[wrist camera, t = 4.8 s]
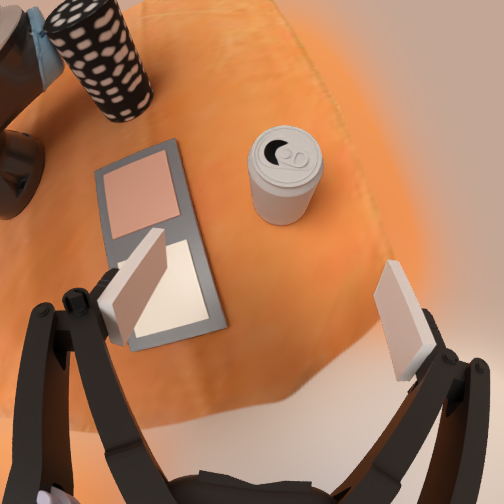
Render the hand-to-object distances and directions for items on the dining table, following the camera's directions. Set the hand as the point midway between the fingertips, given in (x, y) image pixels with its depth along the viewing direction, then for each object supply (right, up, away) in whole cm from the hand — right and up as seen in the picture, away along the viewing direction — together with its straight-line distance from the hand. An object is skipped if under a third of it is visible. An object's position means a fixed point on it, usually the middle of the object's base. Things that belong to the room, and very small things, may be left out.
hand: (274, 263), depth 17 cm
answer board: (-13, +2, +17) cm, 22 cm away
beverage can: (+2, +7, +18) cm, 19 cm away
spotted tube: (-20, +24, +21) cm, 37 cm away
